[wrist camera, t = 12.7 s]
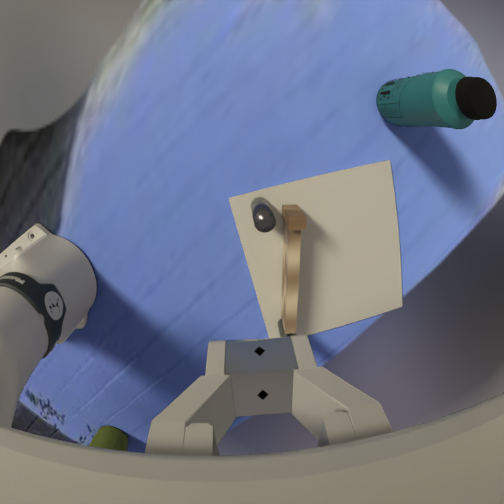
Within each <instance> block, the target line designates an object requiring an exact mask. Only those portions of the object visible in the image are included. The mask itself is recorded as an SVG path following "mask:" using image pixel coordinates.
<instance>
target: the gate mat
mask: <svg viewBox="0 0 504 504" xmlns="http://www.w3.org/2000/svg"><path fill="white" fill-rule="evenodd" d="M257 197H263V198H265V199H266V200H267V201H268V203H269V205H270V208H271V210H272V212H273V214H274V217H275V219H276V224H275V227H274V228H273V229H272V230H271V231H270V232H266V233H263V232H260V231H258V230H257V229H256V228H255V225H254V221H253V216H252V211H251V202H252V201H253V200H254V199H255V198H257ZM229 201H230V205H231V208H232V212H233V215H234V219H235V222H236V226H237V229H238V233H239V236H240V239H241V243H242V246H243V250H244V253H245V257H246V260H247V264H248V267H249V270H250V274H251V277H252V281H253V284H254V288H255V291H256V294H257V298H258V301H259V305H260V308H261V311H262V315H263V318H264V322H265V325H266V328H267V332H268V335H269V338H279V337H280V334H279V329H278V321H279V320H280V319H281V303H282V269H283V218H282V205H298V207H299V208H300V209H301V211H302V212H303V213H304V214H305V216H306V230H301V246H300V268H299V287H298V305H297V320H296V335H302V334H306V335H307V336H308V335H311V334H315V333H319V332H322V331H326V330H329V329H333V328H336V327H340V326H343V325H346V324H350V323H353V322H356V321H359V320H363V319H366V318H369V317H372V316H375V315H378V314H381V313H384V312H387V311H390V310H393V309H396V308H399V307H402V277H401V257H400V242H399V230H398V219H397V210H396V201H395V193H394V185H393V178H392V171H391V164H390V160H388V161H383V162H378V163H373V164H368V165H363V166H359V167H354V168H349V169H345V170H340V171H336V172H331V173H327V174H323V175H318V176H314V177H310V178H306V179H301V180H297V181H293V182H289V183H285V184H281V185H277V186H273V187H269V188H265V189H261V190H258V191H254V192H250V193H246V194H242V195H239V196H235V197H231V198H229Z"/></svg>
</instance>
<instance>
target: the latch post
mask: <svg viewBox="0 0 504 504" xmlns="http://www.w3.org/2000/svg"><path fill="white" fill-rule="evenodd" d="M251 211H252V216H253V221H254V225H255V228H256V229H257V230H258V231H260V232H263V233H266V232H270V231H271V230H272V229H273V228H274V227H275V224H276V219H275V217H274V214H273V212H272V210H271V208H270V205H269V203H268V201H267V200H266V199H265V198H263V197H257V198H255V199H254V200H253V201H252V202H251Z"/></svg>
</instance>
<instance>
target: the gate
mask: <svg viewBox="0 0 504 504" xmlns="http://www.w3.org/2000/svg"><path fill="white" fill-rule="evenodd" d="M282 218H283V269H282V303H281V319H282V323H283V327H284V331H285V334H290V333H296V320H297V305H298V287H299V268H300V246H301V230H306V216H305V214H304V213H303V212H302V211H301V209H300V208H299V207H298V205H282Z"/></svg>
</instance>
